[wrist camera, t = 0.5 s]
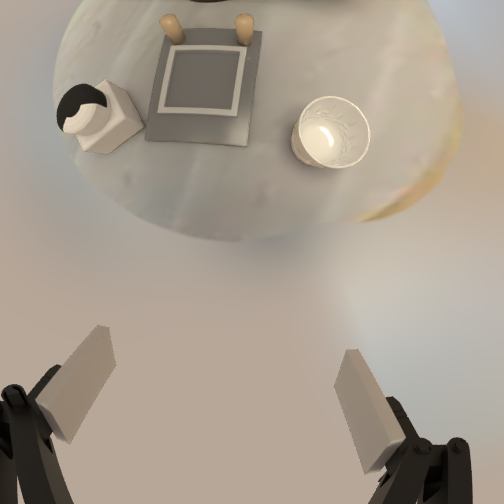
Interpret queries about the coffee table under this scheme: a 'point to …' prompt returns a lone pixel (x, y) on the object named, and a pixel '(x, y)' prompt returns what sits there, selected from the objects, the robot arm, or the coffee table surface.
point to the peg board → (204, 83)
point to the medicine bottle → (98, 116)
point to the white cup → (330, 133)
